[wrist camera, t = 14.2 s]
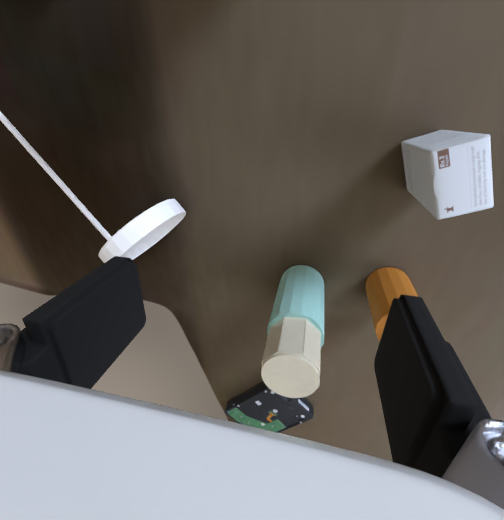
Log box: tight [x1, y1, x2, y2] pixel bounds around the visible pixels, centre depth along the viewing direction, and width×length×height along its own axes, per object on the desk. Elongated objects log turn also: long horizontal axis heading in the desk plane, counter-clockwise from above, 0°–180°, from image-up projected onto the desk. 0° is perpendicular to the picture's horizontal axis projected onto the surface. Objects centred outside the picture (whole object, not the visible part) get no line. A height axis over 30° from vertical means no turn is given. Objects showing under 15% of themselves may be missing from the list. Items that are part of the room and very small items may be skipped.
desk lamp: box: [0, 111, 186, 263], centre depth 35 cm, size 12×22×45 cm
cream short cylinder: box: [261, 316, 321, 398], centre depth 31 cm, size 6×6×6 cm
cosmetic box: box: [401, 130, 494, 220], centre depth 28 cm, size 6×4×12 cm
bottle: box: [267, 265, 324, 347], centre depth 37 cm, size 7×7×16 cm
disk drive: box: [225, 382, 314, 433], centre depth 57 cm, size 10×3×15 cm
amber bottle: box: [365, 267, 418, 340], centre depth 36 cm, size 6×6×14 cm
